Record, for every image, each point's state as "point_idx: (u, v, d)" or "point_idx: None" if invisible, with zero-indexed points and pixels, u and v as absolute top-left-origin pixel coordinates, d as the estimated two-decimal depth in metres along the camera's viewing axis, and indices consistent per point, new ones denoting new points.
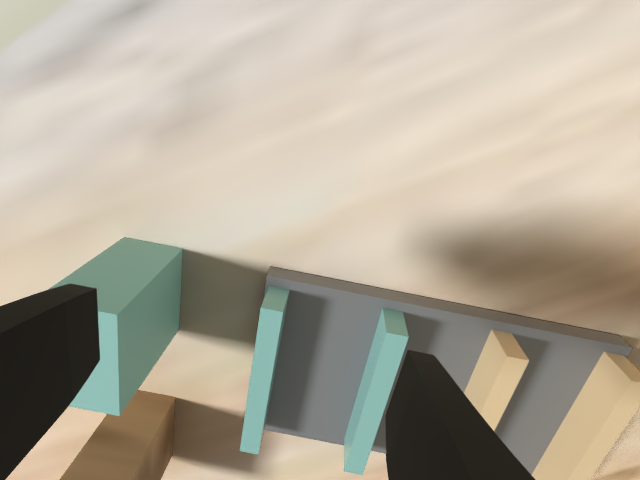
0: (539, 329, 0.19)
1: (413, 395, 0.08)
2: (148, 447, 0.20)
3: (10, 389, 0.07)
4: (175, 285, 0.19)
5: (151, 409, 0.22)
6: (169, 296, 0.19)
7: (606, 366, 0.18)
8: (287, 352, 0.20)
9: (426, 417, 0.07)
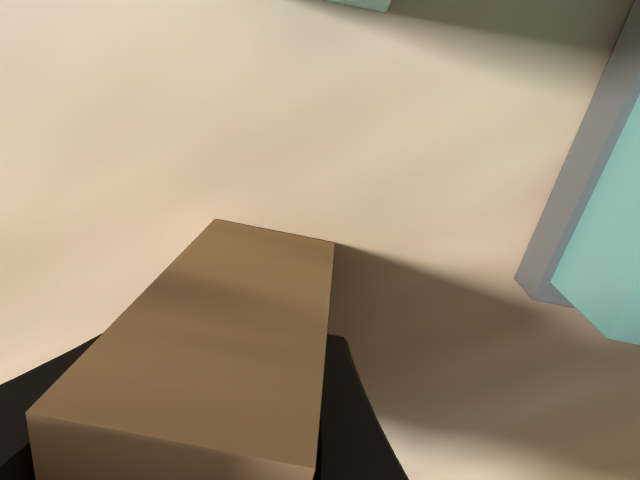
0: None
1: None
2: (327, 324, 0.06)
3: None
4: None
5: (292, 255, 0.08)
6: None
7: None
8: None
9: None
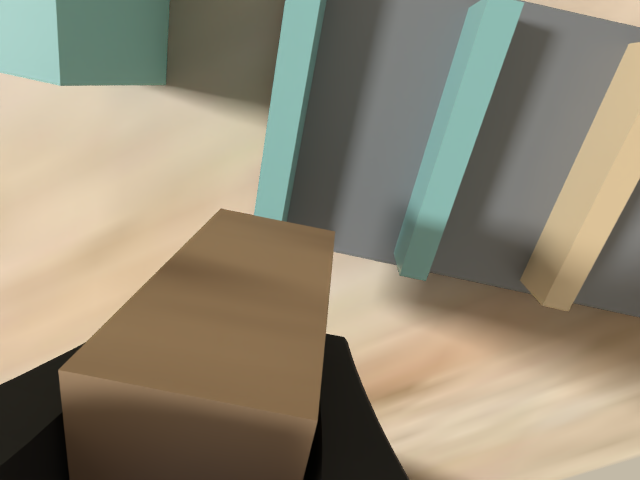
0: None
1: None
2: (328, 303, 0.07)
3: None
4: None
5: (294, 242, 0.09)
6: None
7: None
8: (321, 99, 0.14)
9: None
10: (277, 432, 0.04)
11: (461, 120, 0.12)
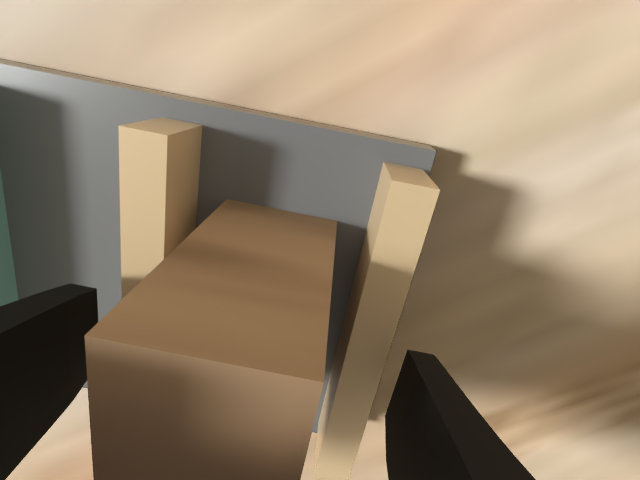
0: (253, 115, 0.09)
1: (413, 395, 0.08)
2: (331, 283, 0.07)
3: (10, 389, 0.07)
4: None
5: (298, 229, 0.09)
6: None
7: (380, 184, 0.09)
8: None
9: (426, 417, 0.07)
10: (285, 393, 0.05)
11: None
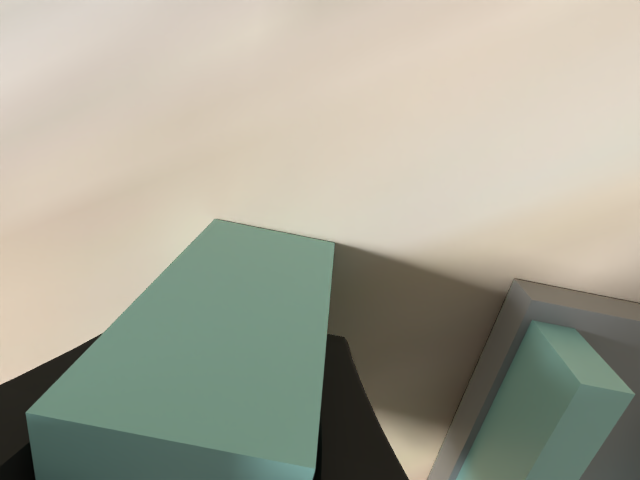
0: None
1: None
2: None
3: None
4: None
5: None
6: None
7: None
8: None
9: None
10: None
11: None
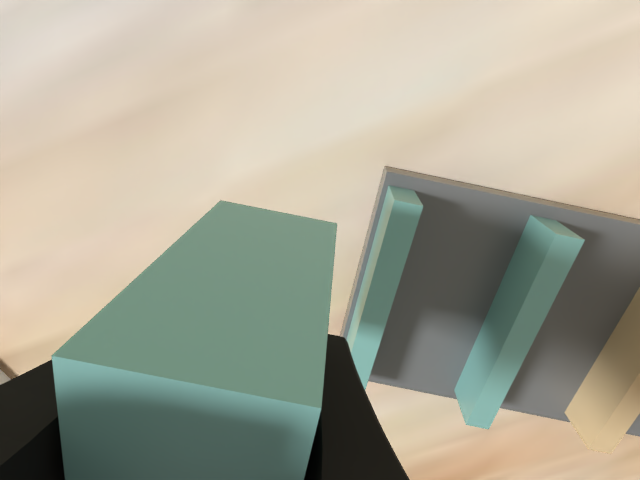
0: None
1: None
2: None
3: None
4: None
5: None
6: None
7: None
8: None
9: None
10: None
11: (527, 317, 0.14)
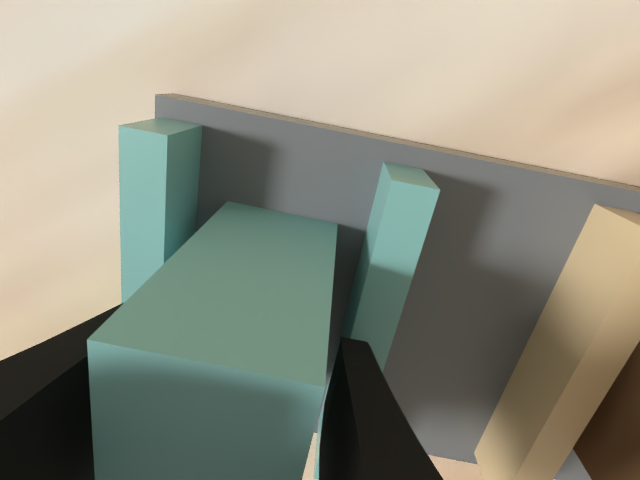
0: None
1: (338, 380, 0.08)
2: None
3: None
4: None
5: None
6: None
7: None
8: None
9: (343, 401, 0.07)
10: None
11: (371, 320, 0.09)
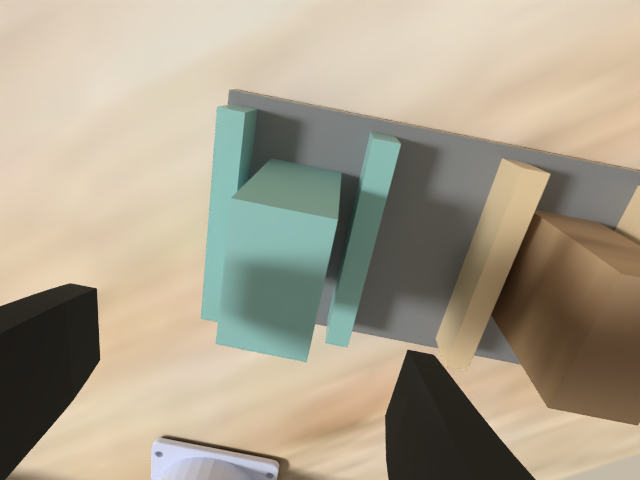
0: (560, 156, 0.15)
1: (413, 395, 0.08)
2: None
3: (10, 389, 0.07)
4: None
5: (593, 227, 0.15)
6: None
7: None
8: None
9: (426, 417, 0.07)
10: None
11: (362, 227, 0.15)
